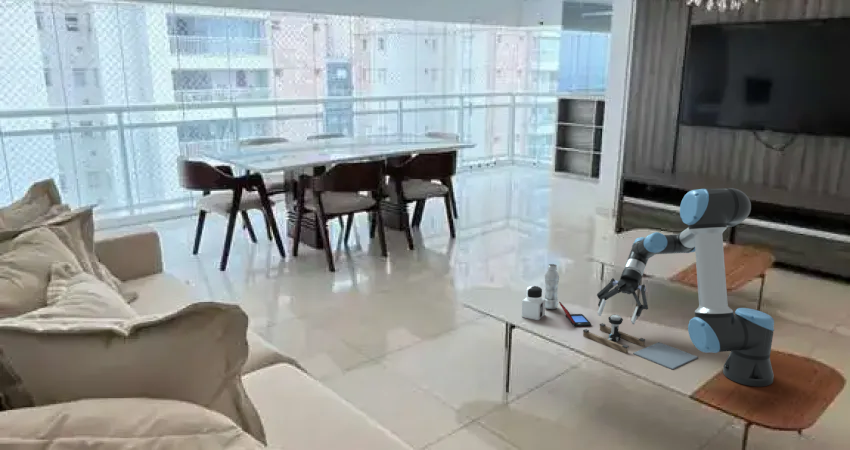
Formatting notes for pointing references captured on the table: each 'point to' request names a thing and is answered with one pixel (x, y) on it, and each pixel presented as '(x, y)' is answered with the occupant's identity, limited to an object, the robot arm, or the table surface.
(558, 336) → the table surface
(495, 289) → the table surface
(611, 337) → the push button
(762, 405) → the table surface
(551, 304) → the plastic bottle
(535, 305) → the container
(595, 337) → the rails
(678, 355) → the slate mat
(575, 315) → the handheld game console
